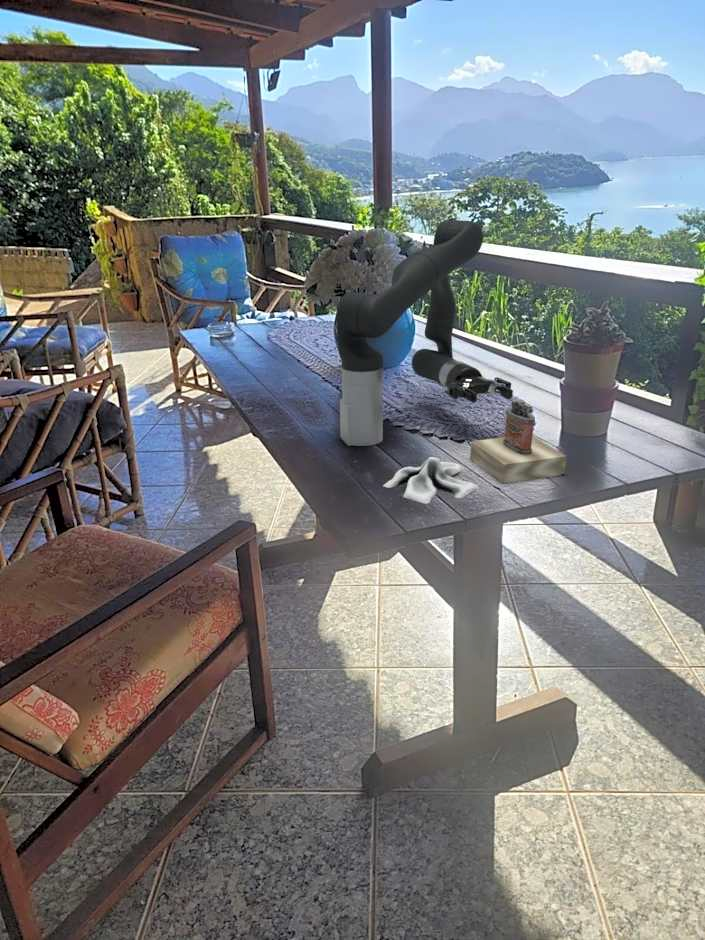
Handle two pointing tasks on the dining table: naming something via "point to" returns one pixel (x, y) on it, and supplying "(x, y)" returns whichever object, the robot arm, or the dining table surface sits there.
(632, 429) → the dining table surface
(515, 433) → the lighter
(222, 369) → the dining table surface
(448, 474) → the cloth
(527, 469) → the base block
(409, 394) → the dining table surface
